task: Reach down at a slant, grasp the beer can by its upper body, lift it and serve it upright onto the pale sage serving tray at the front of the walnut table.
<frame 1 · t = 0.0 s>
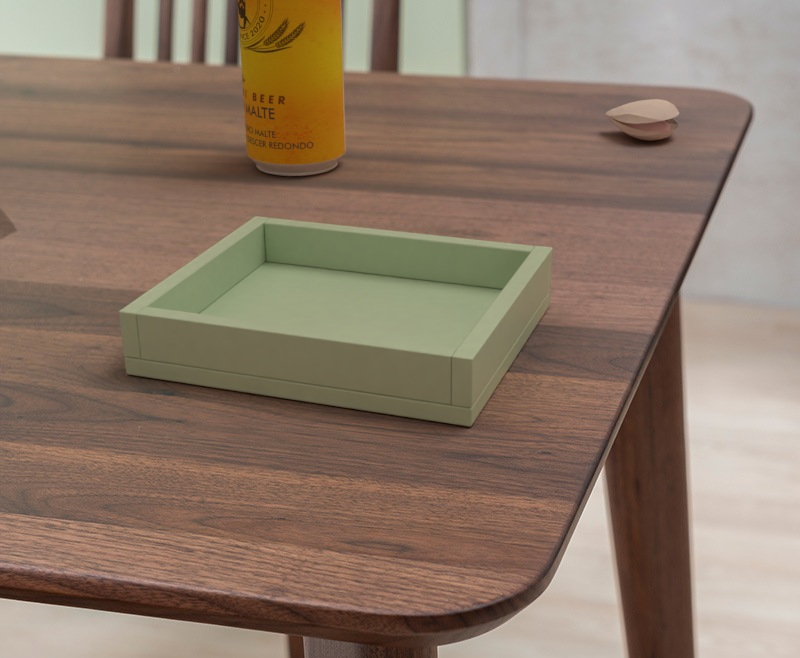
serving tray: (350, 338, 54), on the table
beer can: (297, 167, 78), on the table
pistachio shell: (638, 139, 83), on the table
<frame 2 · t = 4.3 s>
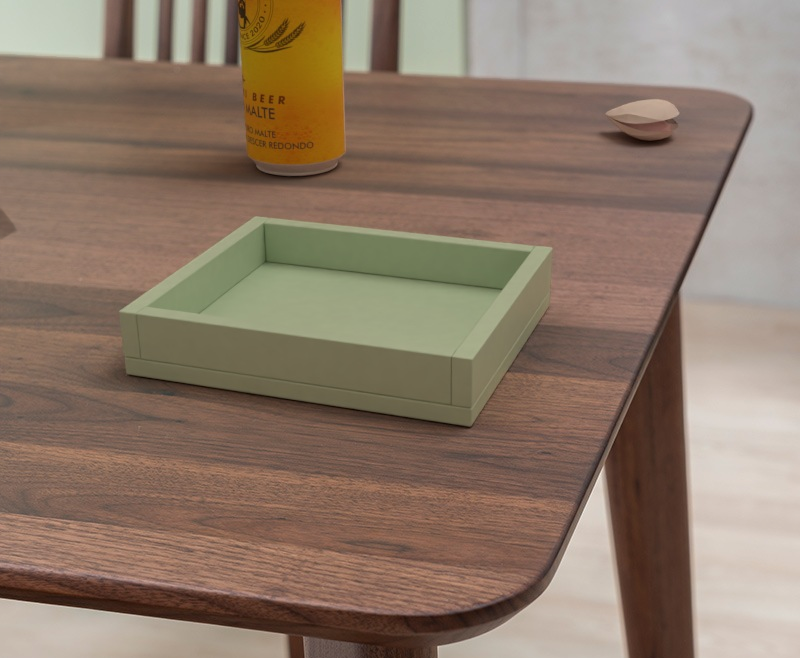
nothing on the table moved.
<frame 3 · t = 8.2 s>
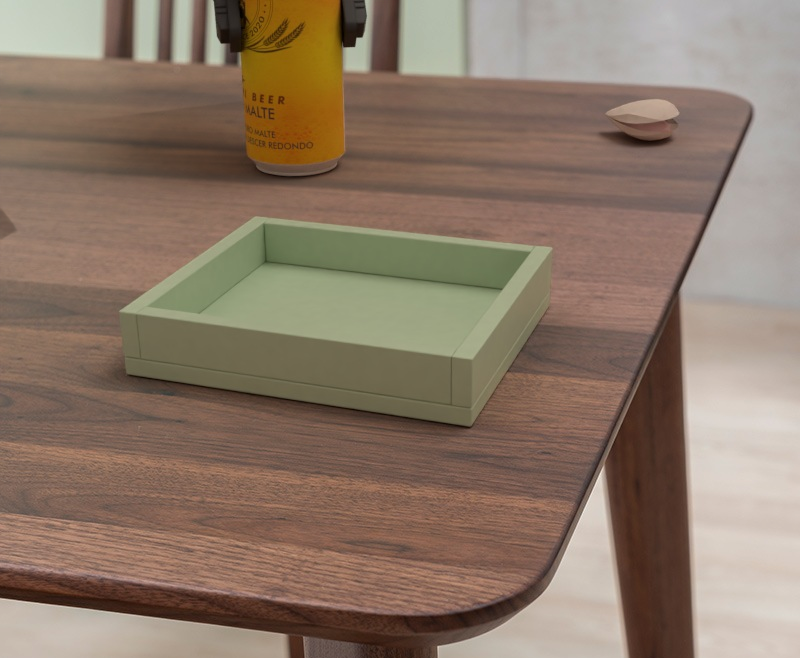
hand: (293, 41, 73), 8 cm above the table, tool tilted 45°, fingers closed on beer can, 6 cm apart
beer can: (296, 167, 78), on the table, touching gripper
everything else where it was.
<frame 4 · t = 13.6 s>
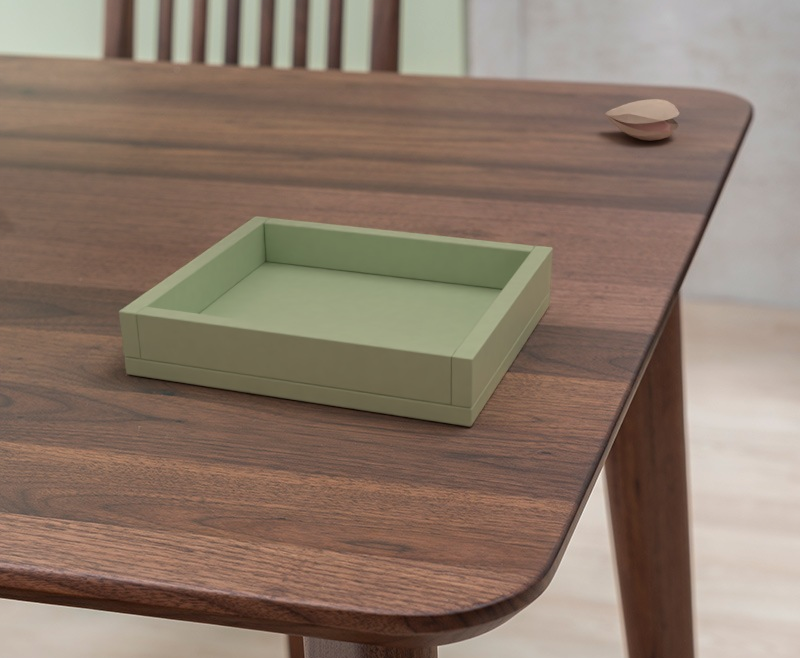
when the fingers open (9 cm above the table, at t = 19.2 s): beer can stays where it is, resting on serving tray.
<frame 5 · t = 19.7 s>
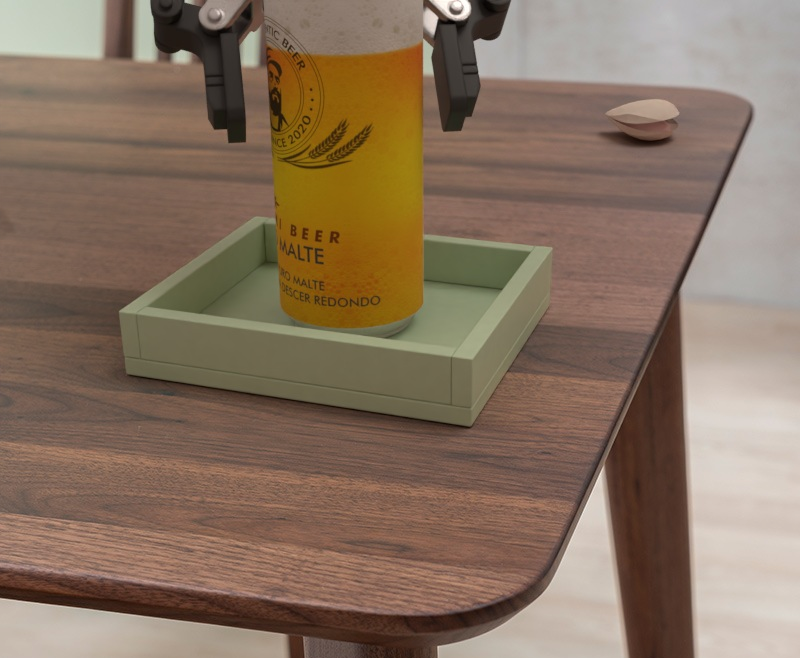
hand: (347, 127, 49), 9 cm above the table, tool tilted 45°, fingers open, 8 cm apart
beer can: (352, 323, 54), point 1 cm above the table, touching serving tray
everything else where it was.
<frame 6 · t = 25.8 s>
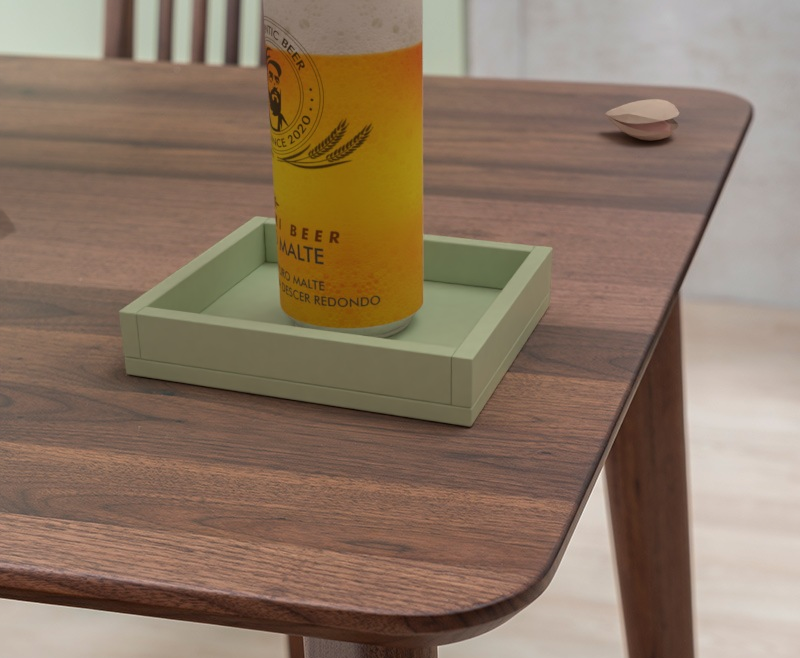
nothing on the table moved.
at the end: beer can inside the target area in the serving tray (0.2 cm from its centre), point 0.6 cm above the serving tray's base; beer can tilted 0°; the gripper is holding nothing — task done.
